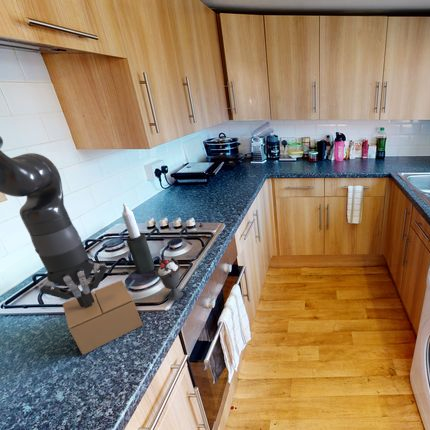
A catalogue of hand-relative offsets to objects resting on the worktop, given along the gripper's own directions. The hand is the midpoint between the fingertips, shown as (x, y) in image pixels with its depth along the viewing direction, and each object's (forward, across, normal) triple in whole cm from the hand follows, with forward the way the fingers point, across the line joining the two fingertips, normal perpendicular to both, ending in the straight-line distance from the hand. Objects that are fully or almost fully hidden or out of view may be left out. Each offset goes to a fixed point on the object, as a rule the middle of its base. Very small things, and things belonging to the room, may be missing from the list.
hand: (88, 305), depth 71 cm
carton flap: (0, +1, 0) cm, 1 cm away
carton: (+9, -2, 0) cm, 9 cm away
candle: (+10, -17, -22) cm, 29 cm away
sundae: (+10, -19, 0) cm, 21 cm away
